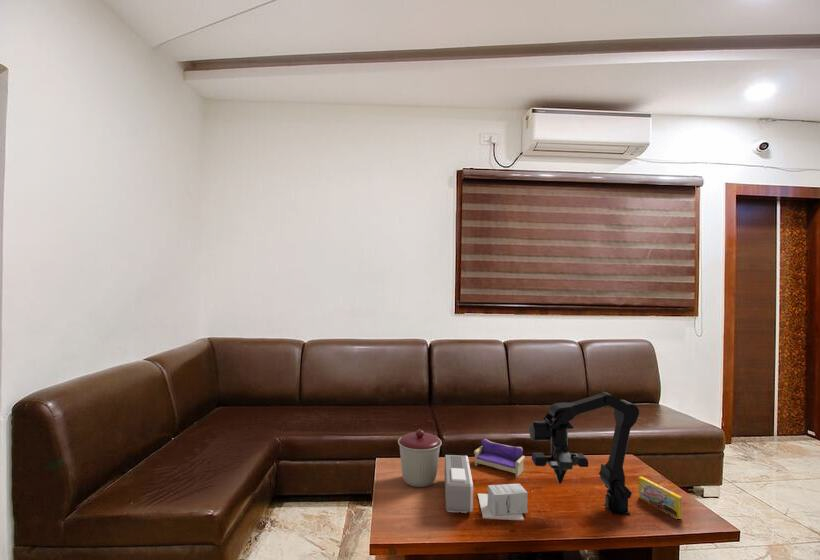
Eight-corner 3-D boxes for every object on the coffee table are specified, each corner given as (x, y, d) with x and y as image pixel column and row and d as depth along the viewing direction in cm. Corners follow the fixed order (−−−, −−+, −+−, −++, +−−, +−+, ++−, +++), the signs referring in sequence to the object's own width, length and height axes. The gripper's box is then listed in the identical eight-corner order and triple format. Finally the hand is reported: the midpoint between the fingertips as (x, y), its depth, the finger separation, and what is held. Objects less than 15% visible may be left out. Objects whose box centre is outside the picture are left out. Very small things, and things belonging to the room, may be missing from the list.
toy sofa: (473, 465, 183) (473, 443, 183) (480, 459, 190) (481, 437, 190) (518, 478, 171) (518, 454, 171) (525, 471, 178) (525, 448, 179)
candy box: (637, 498, 157) (638, 476, 157) (642, 497, 158) (642, 475, 158) (678, 521, 142) (678, 497, 142) (682, 519, 142) (682, 496, 142)
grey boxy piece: (472, 518, 141) (473, 483, 141) (446, 516, 142) (446, 482, 142) (467, 480, 168) (467, 452, 169) (444, 479, 169) (445, 451, 169)
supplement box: (528, 513, 143) (494, 516, 141) (519, 502, 150) (486, 505, 148) (528, 492, 143) (494, 495, 141) (519, 482, 151) (486, 484, 149)
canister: (439, 494, 157) (440, 439, 157) (393, 489, 159) (394, 436, 160) (442, 473, 174) (443, 424, 175) (401, 469, 177) (402, 421, 178)
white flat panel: (514, 496, 156) (514, 495, 156) (523, 520, 140) (523, 518, 140) (477, 494, 157) (477, 493, 157) (482, 518, 141) (483, 516, 141)
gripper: (539, 448, 140) (539, 493, 140) (594, 449, 139) (594, 495, 139) (531, 436, 151) (531, 478, 151) (582, 437, 150) (582, 479, 150)
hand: (559, 483), depth 147 cm, fingers closed
